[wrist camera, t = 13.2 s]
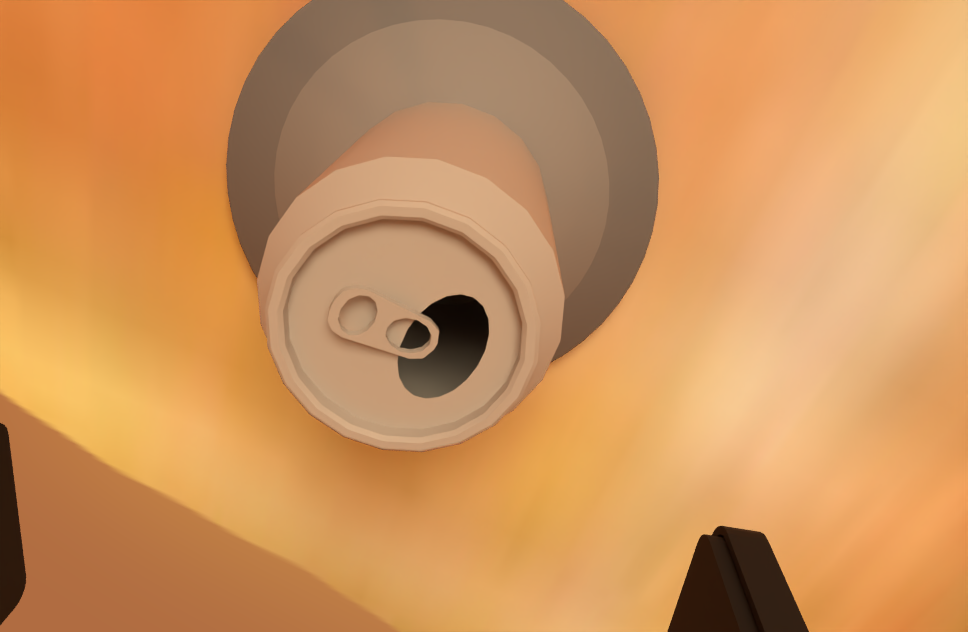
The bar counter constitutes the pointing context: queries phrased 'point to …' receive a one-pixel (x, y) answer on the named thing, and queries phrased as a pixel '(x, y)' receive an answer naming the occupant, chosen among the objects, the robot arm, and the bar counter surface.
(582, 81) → the dish
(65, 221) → the bar counter surface
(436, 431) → the can
